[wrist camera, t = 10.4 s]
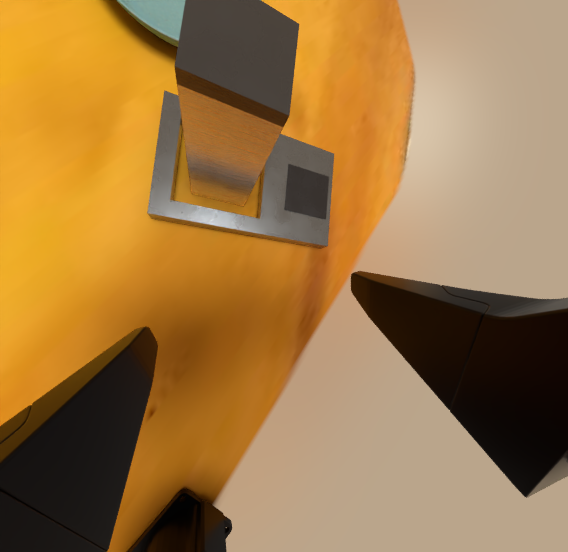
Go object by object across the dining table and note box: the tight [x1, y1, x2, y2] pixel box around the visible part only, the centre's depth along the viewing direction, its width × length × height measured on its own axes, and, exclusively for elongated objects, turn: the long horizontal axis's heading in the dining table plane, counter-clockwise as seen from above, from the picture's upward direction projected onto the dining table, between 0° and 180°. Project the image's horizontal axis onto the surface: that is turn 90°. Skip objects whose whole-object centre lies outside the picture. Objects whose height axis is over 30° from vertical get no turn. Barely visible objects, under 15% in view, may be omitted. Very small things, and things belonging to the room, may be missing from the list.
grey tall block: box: [175, 0, 299, 207], centre depth 15 cm, size 5×5×12 cm
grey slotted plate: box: [148, 91, 334, 248], centre depth 21 cm, size 11×18×2 cm, turn 85°
